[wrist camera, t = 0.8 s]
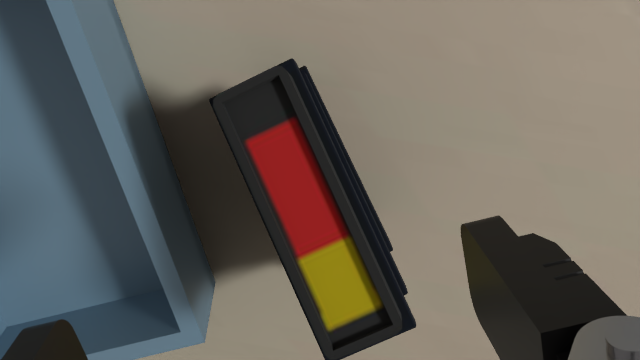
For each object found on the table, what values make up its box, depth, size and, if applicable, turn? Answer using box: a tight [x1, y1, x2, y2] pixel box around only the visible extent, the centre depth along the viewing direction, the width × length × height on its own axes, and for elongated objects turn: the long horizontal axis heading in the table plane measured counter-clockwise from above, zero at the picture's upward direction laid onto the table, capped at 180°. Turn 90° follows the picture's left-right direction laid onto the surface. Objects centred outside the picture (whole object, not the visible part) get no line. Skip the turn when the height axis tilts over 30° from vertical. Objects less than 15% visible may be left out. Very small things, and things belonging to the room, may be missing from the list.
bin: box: [0, 0, 215, 360], centre depth 30 cm, size 21×14×6 cm, turn 13°
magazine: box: [209, 59, 416, 360], centre depth 28 cm, size 4×13×15 cm, turn 25°
